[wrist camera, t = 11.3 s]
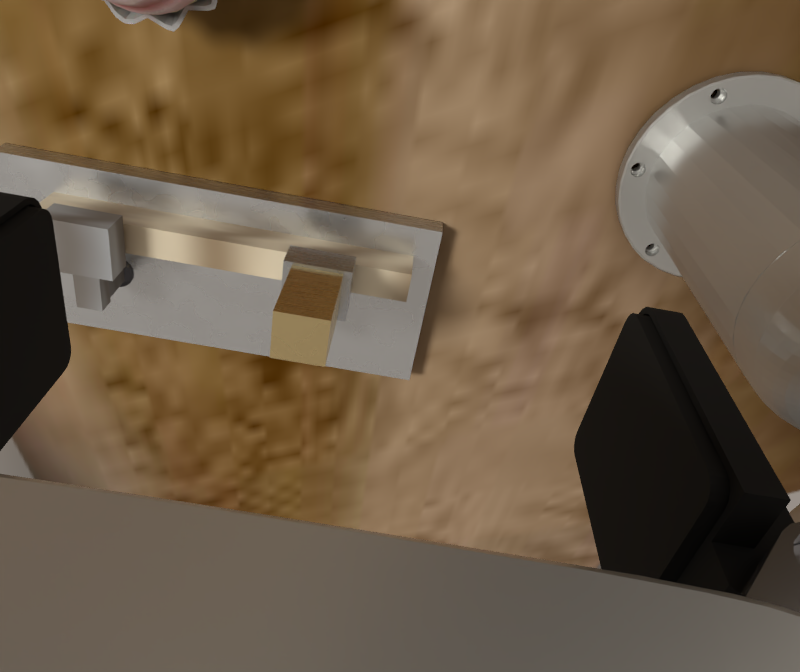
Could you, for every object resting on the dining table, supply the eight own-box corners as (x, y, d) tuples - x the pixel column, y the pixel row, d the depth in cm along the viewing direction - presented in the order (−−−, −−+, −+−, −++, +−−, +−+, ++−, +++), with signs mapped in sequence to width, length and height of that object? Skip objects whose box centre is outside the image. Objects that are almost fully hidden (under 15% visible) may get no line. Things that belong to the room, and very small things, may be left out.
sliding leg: (360, 240, 41) (340, 319, 33) (348, 322, 45) (328, 411, 37) (297, 228, 41) (263, 305, 33) (290, 312, 44) (257, 399, 37)
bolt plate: (442, 222, 42) (442, 232, 41) (410, 367, 49) (409, 380, 48) (4, 143, 41) (-10, 151, 40) (33, 303, 48) (21, 315, 46)
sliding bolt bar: (415, 246, 42) (412, 283, 38) (398, 327, 45) (394, 368, 41) (52, 181, 40) (9, 212, 37) (64, 269, 44) (26, 306, 40)
